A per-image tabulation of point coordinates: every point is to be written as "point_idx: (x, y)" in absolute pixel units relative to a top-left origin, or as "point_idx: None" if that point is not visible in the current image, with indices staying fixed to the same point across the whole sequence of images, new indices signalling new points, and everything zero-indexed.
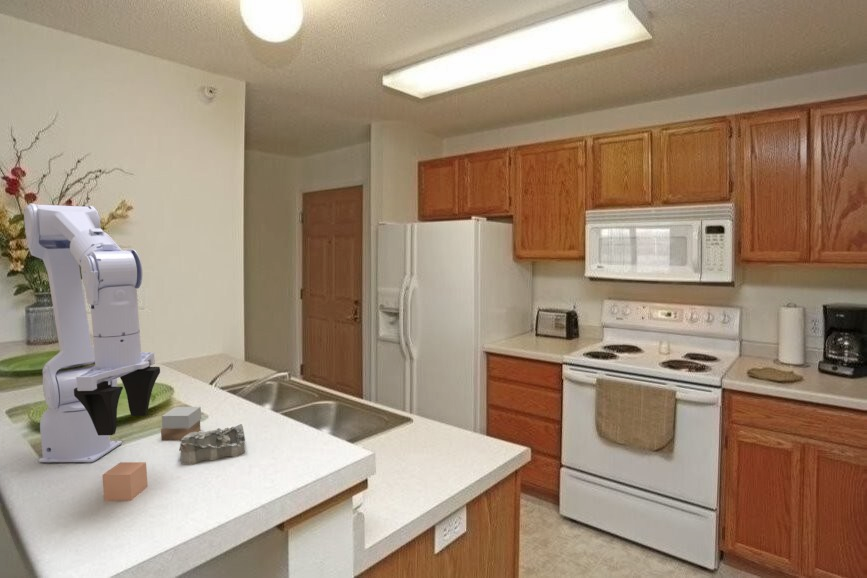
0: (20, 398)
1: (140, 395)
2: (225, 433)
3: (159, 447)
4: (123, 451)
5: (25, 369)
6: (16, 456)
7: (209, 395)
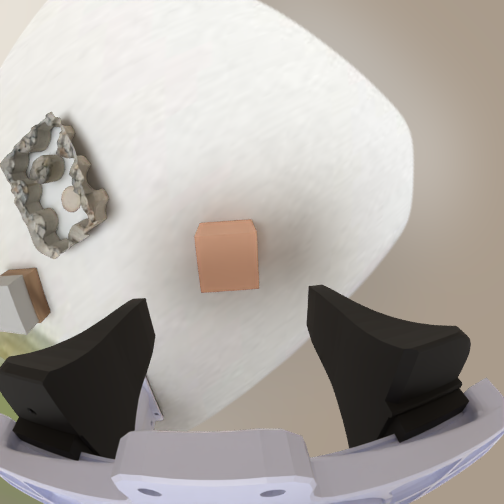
0: None
1: (122, 354)
2: (23, 181)
3: (68, 300)
4: None
5: None
6: None
7: None
